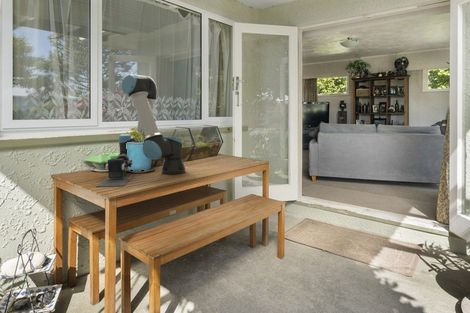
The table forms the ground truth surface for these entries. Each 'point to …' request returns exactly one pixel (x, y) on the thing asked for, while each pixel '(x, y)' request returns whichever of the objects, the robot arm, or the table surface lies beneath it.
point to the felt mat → (114, 182)
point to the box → (116, 168)
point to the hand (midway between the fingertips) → (114, 167)
